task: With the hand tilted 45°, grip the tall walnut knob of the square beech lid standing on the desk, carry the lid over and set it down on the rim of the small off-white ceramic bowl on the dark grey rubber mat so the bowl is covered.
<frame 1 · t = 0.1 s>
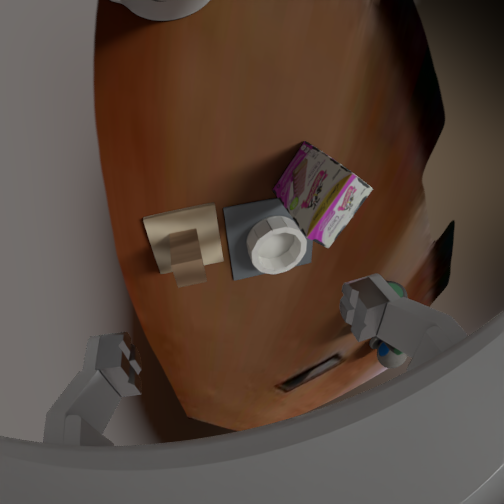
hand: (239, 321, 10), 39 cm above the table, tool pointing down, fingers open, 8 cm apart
webcam: (382, 335, 104), on the table
bowl: (272, 238, 58), resting on mat
lid: (185, 238, 54), on the table
mat: (272, 237, 59), on the table
headphones: (377, 299, 85), on the table
candy bar box: (296, 170, 50), on the table, touching mat
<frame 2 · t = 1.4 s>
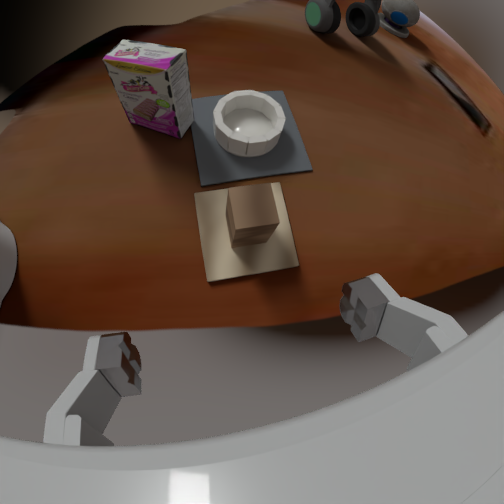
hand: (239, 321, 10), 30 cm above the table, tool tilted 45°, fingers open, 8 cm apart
webcam: (390, 26, 64), on the table
bowl: (246, 130, 45), resting on mat
lid: (244, 230, 42), on the table
mat: (246, 131, 45), on the table
headphones: (337, 31, 58), on the table
candy bar box: (161, 122, 44), on the table, touching mat
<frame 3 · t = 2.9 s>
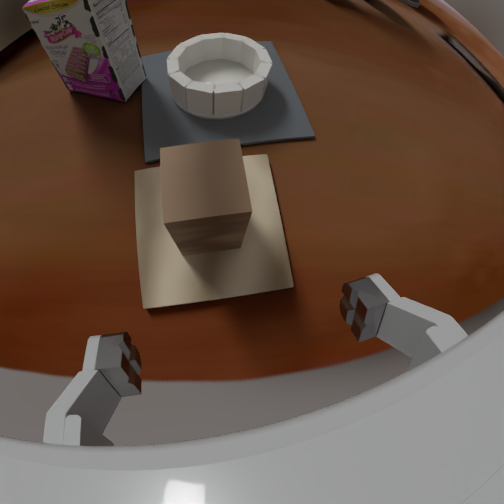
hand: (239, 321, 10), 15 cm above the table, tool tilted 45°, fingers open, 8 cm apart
bowl: (218, 85, 29), resting on mat
lid: (208, 228, 26), on the table
mat: (218, 87, 30), on the table
candy bar box: (105, 85, 28), on the table, touching mat
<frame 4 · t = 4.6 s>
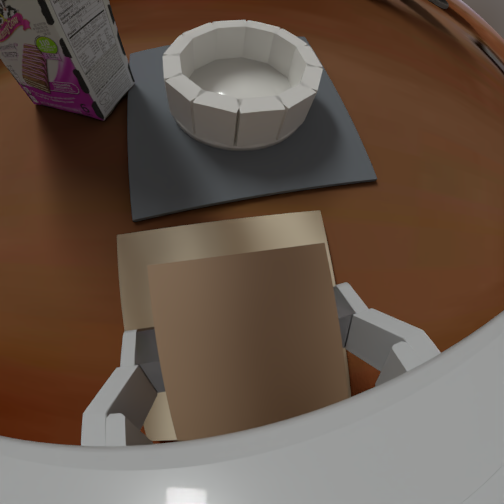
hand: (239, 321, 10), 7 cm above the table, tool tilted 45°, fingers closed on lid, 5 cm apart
bowl: (238, 96, 21), resting on mat
lid: (233, 328, 17), on the table, touching gripper
mat: (238, 99, 21), on the table
candy bar box: (80, 95, 20), on the table, touching mat
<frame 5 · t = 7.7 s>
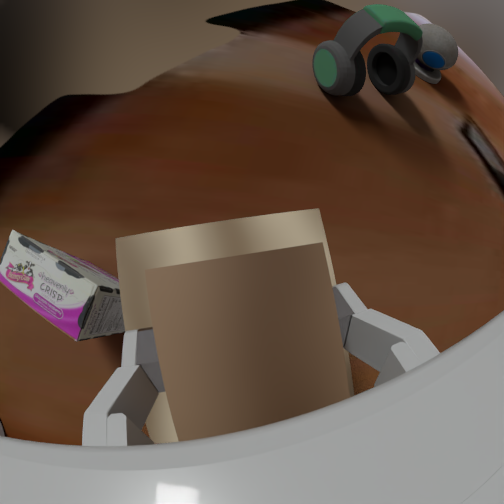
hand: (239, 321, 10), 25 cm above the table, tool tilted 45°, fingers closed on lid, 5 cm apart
webcam: (419, 67, 53), on the table
lid: (234, 329, 17), point 18 cm above the table, touching gripper
headphones: (355, 86, 47), on the table
candy bar box: (112, 295, 34), on the table, touching mat
when the fingers open (13 cm above the table, at t = 10.6 s): lid drops 1 cm, resting on bowl.
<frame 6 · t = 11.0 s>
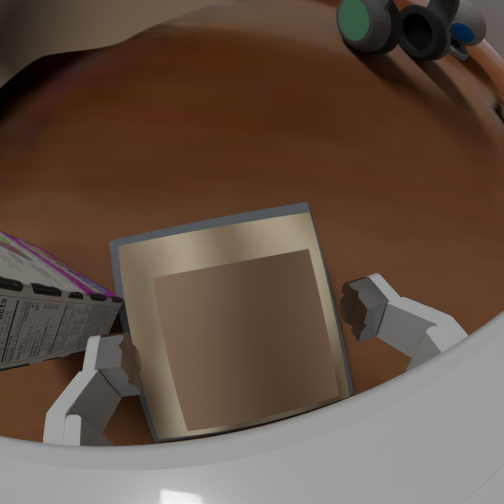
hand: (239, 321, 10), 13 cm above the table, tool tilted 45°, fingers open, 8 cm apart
webcam: (444, 42, 41), on the table
lid: (233, 328, 18), point 5 cm above the table, touching bowl
mat: (230, 325, 23), on the table
headphones: (384, 49, 35), on the table
candy bar box: (69, 296, 22), on the table, touching mat
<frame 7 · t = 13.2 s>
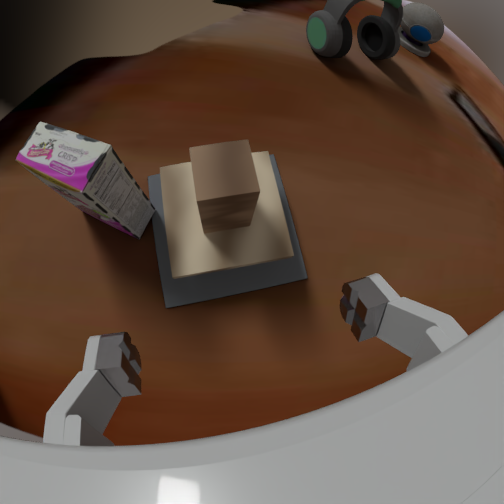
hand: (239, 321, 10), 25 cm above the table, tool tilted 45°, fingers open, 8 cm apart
webcam: (409, 42, 54), on the table
lid: (223, 212, 32), point 5 cm above the table, touching bowl
mat: (223, 224, 37), on the table
headphones: (346, 52, 48), on the table
candy bar box: (117, 211, 36), on the table, touching mat
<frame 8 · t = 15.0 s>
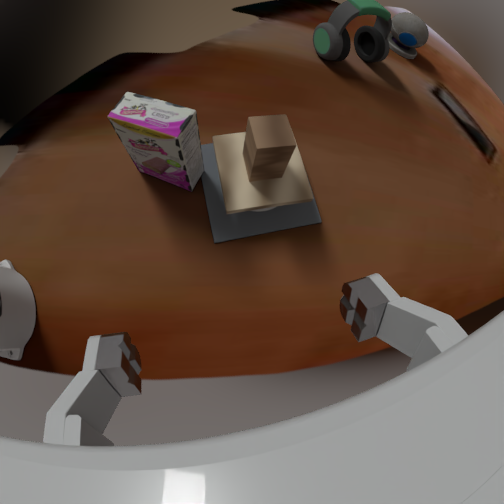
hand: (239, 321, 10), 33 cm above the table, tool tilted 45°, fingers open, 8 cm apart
webcam: (398, 47, 66), on the table
lid: (260, 168, 43), point 5 cm above the table, touching bowl
mat: (256, 182, 48), on the table
headphones: (345, 56, 60), on the table
candy bar box: (170, 171, 47), on the table, touching mat
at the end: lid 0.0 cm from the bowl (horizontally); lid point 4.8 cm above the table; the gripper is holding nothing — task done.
